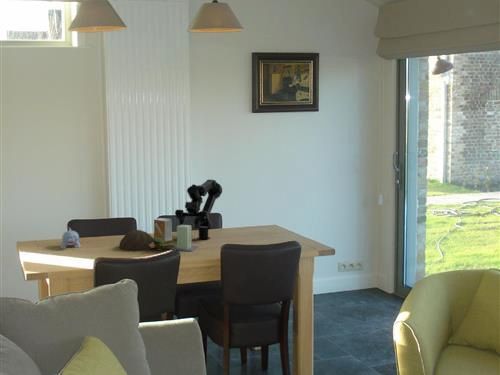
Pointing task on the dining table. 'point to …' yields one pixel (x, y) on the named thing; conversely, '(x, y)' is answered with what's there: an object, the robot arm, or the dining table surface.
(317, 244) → the dining table surface
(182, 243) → the sage block
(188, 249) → the slate mat
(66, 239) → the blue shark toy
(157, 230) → the small box
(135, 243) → the decorative dome
